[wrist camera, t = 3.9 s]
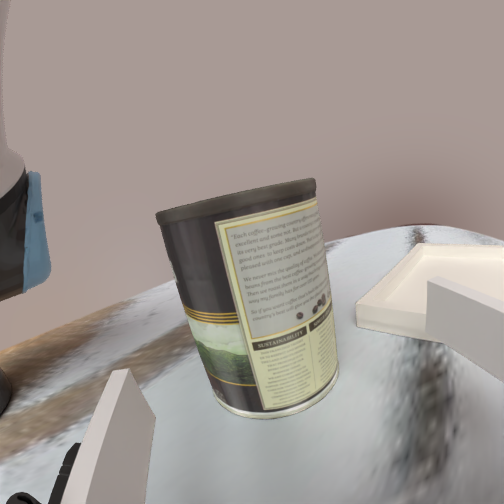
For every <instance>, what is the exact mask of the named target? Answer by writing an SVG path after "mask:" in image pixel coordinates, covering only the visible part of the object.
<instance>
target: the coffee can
mask: <svg viewBox="0 0 504 504" xmlns="http://www.w3.org/2000/svg"><path fill="white" fill-rule="evenodd" d="M315 191H316V182H315V179H314V178H308V179H302V180H296V181H291V182H286V183H280V184H275V185H270V186H266V187H261V188H256V189H252V190H246V191H241V192H237V193H233V194H229V195H224V196H220V197H215V198H211V199H207V200H203V201H199V202H195V203H192V204H187V205H183V206H179V207H175V208H171V209H168V210H164V211H160V212H158V213H156V219H157V222H158V224H159V225H160V228H161V232H162V236H163V239H164V243H165V247H166V250H167V254H168V257H169V261H170V264H171V268H172V271H173V275H174V278H175V282H176V285H177V288H178V292H179V295H180V298H181V301H182V304H183V307H184V310H185V313H186V316H187V319H188V322H189V325H190V328H191V331H192V334H193V337H194V340H195V343H196V345H197V348H198V351H199V354H200V357H201V359H202V362H203V365H204V367H205V370H206V373H207V375H208V378H209V380H210V383H211V386H212V389H213V393H214V396H215V398H216V399H217V401H218V402H219V403H220V405H222V406H223V407H224V408H225V409H227V410H229V411H230V412H232V413H234V414H237V415H240V416H243V417H247V418H254V419H275V418H280V417H285V416H289V415H293V414H296V413H298V412H301V411H303V410H305V409H307V408H309V407H311V406H312V405H314V404H316V403H317V402H318V401H320V400H321V399H323V398H324V397H325V396H326V395H327V393H328V392H329V391H330V390H331V389H332V387H333V386H334V384H335V382H336V380H337V377H338V373H339V363H338V360H337V349H336V337H335V326H334V317H333V308H332V298H331V290H330V282H329V274H328V267H327V260H326V253H325V246H324V239H323V234H322V228H321V222H320V217H319V210H318V205H317V199H316V194H315Z"/></svg>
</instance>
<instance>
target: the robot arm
mask: <svg viewBox="0 0 504 504" xmlns="http://www.w3.org/2000/svg"><path fill="white" fill-rule="evenodd" d="M10 2H11V0H0V301H3V300H5V299H8V298H11V297H13V296H16V295H18V294H21V293H22V294H23V293H25V292H26V291H27V290H28V289H31V288H32V287H35V286H37V285H39V284H41V283H43V282H44V281H45V280H46V279H47V278H48V277H49V275H50V272H51V262H50V256H49V251H48V245H47V239H46V232H45V225H44V217H43V207H42V195H41V177H40V174H39V173H38V172H32V171H30V172H28V173H27V174H26V170H25V164H24V160H23V157H22V156H21V155H20V154H18V153H17V152H15V151H13V150H11V149H9V148H8V146H7V143H6V135H5V126H4V114H3V96H2V68H3V67H2V66H3V50H4V49H3V48H4V39H5V31H6V24H7V18H8V12H9V7H10ZM425 332H427V333H428V334H430V335H431V336H433V337H434V338H436V339H438V340H439V341H441V342H442V343H444V344H445V345H447V346H448V347H450V348H452V349H453V350H455V351H456V352H458V353H459V354H461V355H462V356H464V357H465V358H467V359H468V360H470V361H472V362H473V363H475V364H476V365H478V366H479V367H481V368H482V369H484V370H485V371H487V372H488V373H490V374H491V375H493V376H494V377H496V378H497V379H499V380H500V381H502V382H503V383H504V301H501V300H499V299H496V298H494V297H491V296H489V295H486V294H484V293H481V292H479V291H476V290H474V289H471V288H469V287H466V286H463V285H461V284H458V283H456V282H453V281H450V280H448V279H445V278H442V277H440V276H436V277H434V278H432V279H430V280H427V310H426V326H425ZM11 392H12V387H11V384H10V382H9V381H8V379H7V377H6V375H5V373H4V372H3V370H2V369H1V368H0V414H1V413H2V411H3V410H4V408H5V407H6V405H7V403H8V401H9V399H10V396H11ZM155 420H156V417H155V415H154V413H153V412H152V410H151V408H150V407H149V405H148V403H147V401H146V399H145V398H144V396H143V394H142V392H141V390H140V388H139V387H138V385H137V383H136V381H135V379H134V377H133V375H132V373H131V371H130V369H129V368H128V369H122V370H114V371H112V373H111V376H110V378H109V380H108V382H107V384H106V386H105V389H104V391H103V393H102V395H101V398H100V400H99V402H98V404H97V407H96V409H95V411H94V414H93V416H92V418H91V421H90V423H89V426H88V428H87V431H86V433H85V436H84V438H83V441H82V443H75V444H74V445H73V446H72V447H71V448H70V450H69V451H68V452H67V453H66V456H65V458H64V461H63V463H62V464H63V466H61V469H60V471H59V475H58V476H57V479H56V482H55V485H54V488H53V490H52V493H51V496H50V499H49V502H48V504H145V497H146V487H147V478H148V470H149V462H150V454H151V447H152V440H153V433H154V427H155ZM6 504H41V503H40V502H38V501H37V500H36V499H35V498H34V497H32V496H31V495H30V494H28V493H24V492H19V493H15V494H14V495H12V496H11V497H10V498H9V499H8V501H7V502H6Z"/></svg>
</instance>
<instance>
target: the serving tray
mask: <svg viewBox="0 0 504 504" xmlns="http://www.w3.org/2000/svg"><path fill="white" fill-rule="evenodd" d="M436 276H440V277H442V278H445V279H448V280H450V281H453V282H456V283H458V284H461V285H463V286H466V287H469V288H471V289H474V290H476V291H479V292H481V293H484V294H486V295H489V296H491V297H494V298H496V299H499V300H501V301H504V246H498V245H466V244H429V243H418V244H417V245H416V246H415V247H414V248H413V249H412V250H411V251H410V252H409V253H408V254H407V255H406V256H405V257H404V258H403V259H402V260H401V261H400V262H399V263H398V264H397V265H396V266H395V267H394V268H393V269H392V270H391V271H390V272H389V273H388V274H387V275H386V276H385V277H384V278H383V279H382V280H381V281H379V282H378V283H377V284H376V285H375V286H374V287H373V288H372V289H371V290H370V291H369V292H368V293H366V294H365V295H364V296H363V297H362V298H361V299H360V300H359V301H357V302H356V303H355V305H356V319H357V327H360V328H365V329H370V330H375V331H380V332H385V333H390V334H395V335H400V336H405V337H411V338H416V339H422V340H427V341H433V342H439V343H442V342H441V341H439V340H438V339H436V338H434V337H433V336H431V335H430V334H428V333H427V332H425V326H426V310H427V280H430V279H432V278H434V277H436Z"/></svg>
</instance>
